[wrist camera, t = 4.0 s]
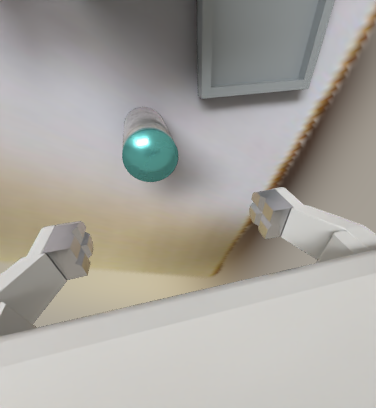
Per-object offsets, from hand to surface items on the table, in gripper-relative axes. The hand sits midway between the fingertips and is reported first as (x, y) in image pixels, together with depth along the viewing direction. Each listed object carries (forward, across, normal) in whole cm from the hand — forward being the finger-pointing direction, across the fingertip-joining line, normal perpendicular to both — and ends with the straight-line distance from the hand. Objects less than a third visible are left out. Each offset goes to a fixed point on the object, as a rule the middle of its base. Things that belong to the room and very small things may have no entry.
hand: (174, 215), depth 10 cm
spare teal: (+13, +1, 0) cm, 13 cm away
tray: (+14, -10, -8) cm, 19 cm away
